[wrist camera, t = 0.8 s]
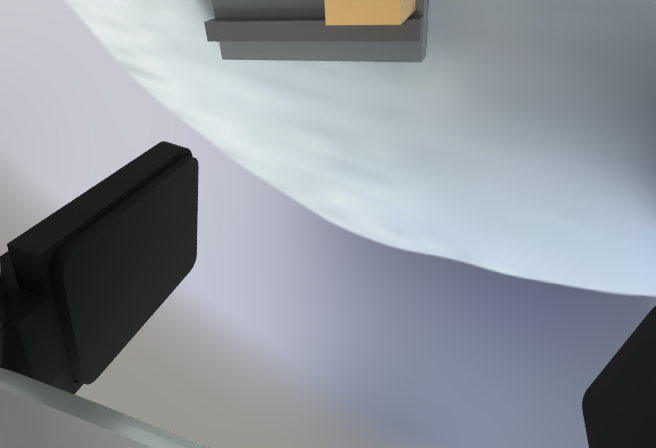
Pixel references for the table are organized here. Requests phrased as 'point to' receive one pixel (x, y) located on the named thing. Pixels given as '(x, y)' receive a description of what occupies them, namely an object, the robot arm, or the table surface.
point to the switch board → (311, 33)
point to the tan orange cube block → (368, 12)
